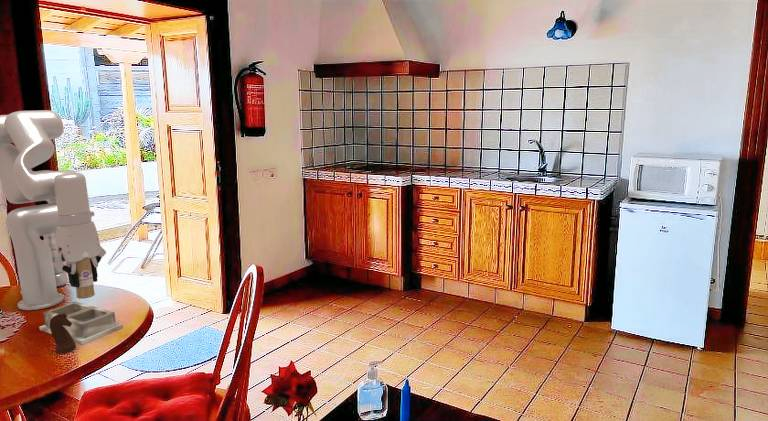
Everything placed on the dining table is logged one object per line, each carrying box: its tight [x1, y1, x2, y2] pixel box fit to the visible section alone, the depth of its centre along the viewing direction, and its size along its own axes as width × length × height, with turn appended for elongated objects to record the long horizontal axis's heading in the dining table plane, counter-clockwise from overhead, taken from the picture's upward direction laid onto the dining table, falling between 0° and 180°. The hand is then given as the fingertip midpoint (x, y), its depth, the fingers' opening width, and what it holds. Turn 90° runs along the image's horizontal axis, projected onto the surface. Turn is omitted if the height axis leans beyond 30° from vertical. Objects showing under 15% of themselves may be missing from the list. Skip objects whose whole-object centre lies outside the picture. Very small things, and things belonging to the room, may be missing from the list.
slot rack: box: [38, 301, 123, 345], centre depth 154 cm, size 20×12×5 cm, turn 61°
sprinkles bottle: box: [75, 252, 96, 300], centre depth 148 cm, size 5×5×13 cm
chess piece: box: [50, 313, 77, 355], centre depth 140 cm, size 5×5×10 cm
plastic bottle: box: [42, 233, 68, 287], centre depth 188 cm, size 6×7×20 cm
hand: (84, 283), depth 149 cm, fingers closed on sprinkles bottle, 4 cm apart
